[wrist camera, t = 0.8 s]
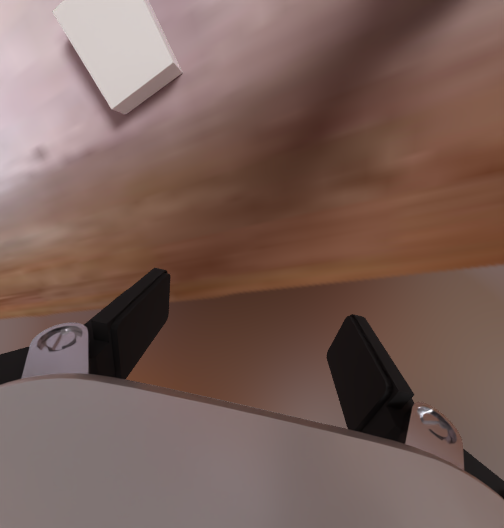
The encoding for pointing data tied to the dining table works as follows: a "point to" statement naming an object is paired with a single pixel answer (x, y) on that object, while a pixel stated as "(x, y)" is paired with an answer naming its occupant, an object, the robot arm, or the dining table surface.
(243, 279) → the dining table surface
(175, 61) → the base tile
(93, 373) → the robot arm
